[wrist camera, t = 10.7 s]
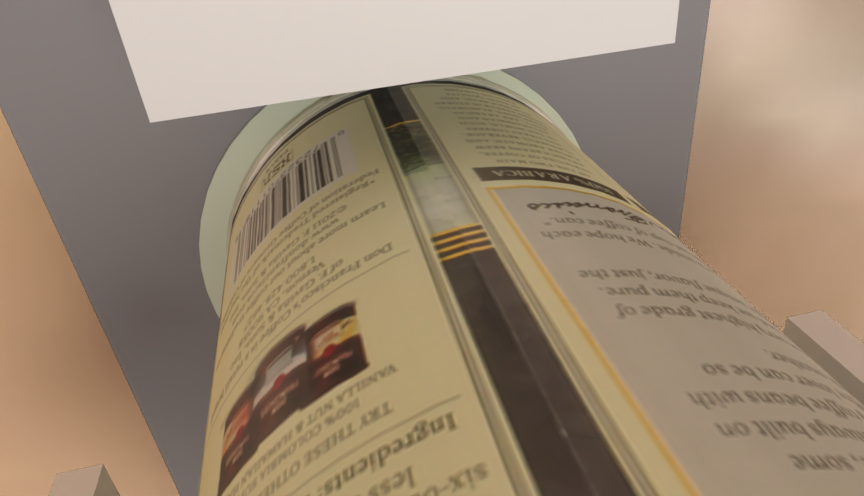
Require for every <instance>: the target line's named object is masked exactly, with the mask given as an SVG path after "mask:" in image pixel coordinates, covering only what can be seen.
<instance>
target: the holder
mask: <svg viewBox="0 0 864 496" xmlns="http://www.w3.org/2000/svg"><path fill="white" fill-rule="evenodd" d="M710 1H711V0H0V108H1V110H2V112H3V115H4V117H5V119H6V121H7V123H8V125H9V127H10V130H11V132H12V134H13V136H14V138H15V140H16V143H17V145H18V147H19V149H20V151H21V153H22V155H23V158H24V160H25V162H26V164H27V166H28V168H29V171H30V173H31V175H32V177H33V179H34V181H35V183H36V186H37V188H38V190H39V192H40V194H41V196H42V199H43V201H44V203H45V205H46V207H47V209H48V211H49V214H50V216H51V218H52V220H53V222H54V224H55V227H56V229H57V231H58V233H59V235H60V237H61V239H62V242H63V244H64V246H65V248H66V250H67V252H68V255H69V257H70V259H71V261H72V263H73V265H74V267H75V270H76V272H77V274H78V276H79V278H80V280H81V283H82V285H83V287H84V289H85V291H86V293H87V295H88V298H89V300H90V302H91V304H92V306H93V308H94V311H95V313H96V315H97V317H98V319H99V321H100V323H101V326H102V328H103V330H104V332H105V334H106V336H107V339H108V341H109V343H110V345H111V347H112V349H113V351H114V354H115V356H116V358H117V360H118V362H119V364H120V367H121V369H122V371H123V373H124V375H125V377H126V379H127V382H128V384H129V386H130V388H131V390H132V392H133V395H134V397H135V399H136V401H137V403H138V405H139V407H140V410H141V412H142V414H143V416H144V418H145V420H146V423H147V425H148V427H149V429H150V431H151V433H152V435H153V438H154V440H155V442H156V444H157V446H158V448H159V451H160V453H161V455H162V457H163V459H164V461H165V464H166V466H167V468H168V470H169V472H170V474H171V476H172V479H173V481H174V483H175V485H176V487H177V489H178V492H179V494H180V496H197V495H198V488H199V480H200V473H201V466H202V457H203V450H204V442H205V434H206V426H207V418H208V410H209V403H210V395H211V387H212V380H213V372H214V361H215V352H216V346H217V339H218V328H219V321H220V314H221V305H222V296H223V289H224V281H225V271H226V265H227V254H226V246H227V233H228V225H229V218H230V215H231V212H232V210H233V206H234V203H235V200H236V198H237V195H238V193H239V190H240V187H241V185H242V183H243V181H244V180H245V178H246V176H247V174H248V172H249V170H250V168H251V167H252V165H253V164H254V163H255V161H256V160H257V158H258V157H259V156H260V154H261V153H262V151H263V150H264V148H265V147H266V146H267V145H268V144H269V143H270V142H271V140H272V139H273V138H274V137H275V136H276V135H277V134H278V133H279V132H280V131H281V130H282V129H283V128H284V127H286V126H287V125H288V124H289V123H290V122H291V121H292V120H293V119H295V118H296V117H297V116H299V115H300V114H301V113H302V112H304V111H305V110H307V109H308V108H309V107H311V106H312V105H314V104H315V103H317V102H318V101H319V100H320V99H322V98H323V97H325V96H329V95H336V94H342V93H349V92H355V91H362V90H369V89H375V88H382V87H388V86H395V85H401V84H408V83H415V82H421V81H428V80H434V79H441V78H447V77H454V76H461V75H471V76H477V77H482V78H484V79H486V80H489V81H491V82H493V83H495V84H498V85H500V86H503V87H505V88H507V89H509V90H511V91H513V92H515V93H517V94H519V95H521V96H522V97H524V98H526V99H527V100H529V101H530V102H532V103H533V104H535V105H536V106H537V107H539V108H540V109H541V110H543V111H544V112H545V113H546V114H547V115H548V116H549V117H550V118H551V119H552V120H553V121H554V122H555V123H556V124H557V125H558V126H559V127H560V128H561V130H562V131H563V132H564V134H565V135H566V136H567V138H568V139H569V140H570V141H571V142H572V143H574V144H575V145H576V146H577V147H578V148H579V149H580V150H581V151H582V152H584V153H585V154H586V155H587V156H588V157H589V158H590V159H591V160H593V161H594V162H595V163H596V164H597V165H598V166H599V167H600V168H601V169H602V170H603V171H605V172H606V173H607V174H608V175H609V176H610V177H611V178H612V179H613V180H615V181H616V182H617V183H618V184H619V185H620V186H621V187H622V188H623V189H624V190H626V191H627V192H628V193H629V194H630V195H631V196H632V197H633V198H634V199H635V200H637V201H638V202H639V203H640V204H641V205H642V206H643V207H644V208H645V209H646V210H647V211H649V212H650V213H651V214H652V215H653V216H654V217H655V218H656V219H657V220H658V221H659V222H661V223H662V224H663V225H664V226H666V227H667V228H668V229H670V230H671V231H672V232H673V233H674V234H675V235H676V236H677V238H678V239H679V231H680V224H681V217H682V209H683V202H684V194H685V187H686V179H687V172H688V164H689V157H690V150H691V142H692V135H693V127H694V120H695V112H696V105H697V97H698V90H699V83H700V75H701V68H702V60H703V53H704V45H705V38H706V30H707V23H708V16H709V8H710Z"/></svg>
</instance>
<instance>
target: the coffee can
mask: <svg viewBox="0 0 864 496" xmlns="http://www.w3.org/2000/svg"><path fill="white" fill-rule="evenodd" d="M226 254H227V265H226V271H225V281H224V289H223V296H222V305H221V314H220V321H219V328H218V339H217V346H216V352H215V361H214V372H213V380H212V387H211V395H210V403H209V410H208V418H207V426H206V434H205V442H204V450H203V457H202V466H201V473H200V480H199V488H198V495H197V496H864V406H863V405H862V404H861V403H860V402H859V401H858V400H857V399H855V398H854V397H853V396H852V395H851V394H850V393H849V392H848V391H847V390H845V389H844V388H843V387H842V386H841V385H840V384H839V383H838V382H837V381H836V380H834V379H833V378H832V377H831V376H830V375H829V374H828V373H827V372H826V371H824V370H823V369H822V368H821V367H820V366H819V365H818V364H817V363H816V362H815V361H813V360H812V359H811V358H810V357H809V356H808V355H807V354H806V353H805V352H804V351H802V350H801V349H800V348H799V347H798V346H797V345H796V344H795V343H794V342H792V341H791V340H790V339H789V338H788V337H787V336H786V335H785V334H784V333H783V332H781V331H780V330H779V329H778V328H777V327H776V326H775V325H774V324H772V323H771V322H770V321H769V320H768V319H767V318H766V317H765V316H764V315H762V314H761V313H760V312H759V311H758V310H757V309H756V308H755V307H753V306H752V305H751V304H750V303H749V302H748V301H747V300H746V299H745V298H743V297H742V296H741V295H740V294H739V293H738V292H737V291H736V290H734V289H733V288H732V287H731V286H730V285H729V284H728V283H727V282H726V281H724V280H723V279H722V278H721V277H720V276H719V275H718V274H717V273H715V272H714V271H713V270H712V269H711V268H710V267H709V266H708V265H707V264H706V263H705V262H704V261H703V260H702V259H700V258H699V257H698V256H697V255H696V254H695V253H694V252H693V251H692V250H691V249H690V248H688V247H687V246H686V245H685V244H684V243H682V242H681V241H680V240H679V239H678V238H677V236H676V235H675V234H674V233H673V232H672V231H671V230H670V229H668V228H667V227H666V226H664V225H663V224H662V223H661V222H659V221H658V220H657V219H656V218H655V217H654V216H653V215H652V214H651V213H650V212H649V211H647V210H646V209H645V208H644V207H643V206H642V205H641V204H640V203H639V202H638V201H637V200H635V199H634V198H633V197H632V196H631V195H630V194H629V193H628V192H627V191H626V190H624V189H623V188H622V187H621V186H620V185H619V184H618V183H617V182H616V181H615V180H613V179H612V178H611V177H610V176H609V175H608V174H607V173H606V172H605V171H603V170H602V169H601V168H600V167H599V166H598V165H597V164H596V163H595V162H594V161H593V160H591V159H590V158H589V157H588V156H587V155H586V154H585V153H584V152H582V151H581V150H580V149H579V148H578V147H577V146H576V145H575V144H574V143H572V142H571V141H570V140H569V139H568V138H567V136H566V135H565V134H564V132H563V131H562V130H561V128H560V127H559V126H558V125H557V124H556V123H555V122H554V121H553V120H552V119H551V118H550V117H549V116H548V115H547V114H546V113H545V112H544V111H543V110H541V109H540V108H539V107H537V106H536V105H535V104H533V103H532V102H530V101H529V100H527V99H526V98H524V97H522V96H521V95H519V94H517V93H515V92H513V91H511V90H509V89H507V88H505V87H503V86H500V85H498V84H495V83H493V82H491V81H489V80H486V79H484V78H482V77H477V76H471V75H461V76H454V77H447V78H441V79H434V80H428V81H421V82H415V83H408V84H401V85H395V86H388V87H382V88H375V89H369V90H362V91H355V92H349V93H342V94H336V95H329V96H325V97H323V98H322V99H320V100H319V101H318V102H317V103H315V104H314V105H312V106H311V107H309V108H308V109H307V110H305V111H304V112H302V113H301V114H300V115H299V116H297V117H296V118H295V119H293V120H292V121H291V122H290V123H289V124H288V125H287V126H286V127H284V128H283V129H282V130H281V131H280V132H279V133H278V134H277V135H276V136H275V137H274V138H273V139H272V140H271V142H270V143H269V144H268V145H267V146H266V147H265V148H264V150H263V151H262V153H261V154H260V156H259V157H258V158H257V160H256V161H255V163H254V164H253V165H252V167H251V168H250V170H249V172H248V174H247V176H246V178H245V180H244V181H243V183H242V185H241V187H240V190H239V193H238V195H237V198H236V200H235V203H234V206H233V210H232V212H231V215H230V218H229V225H228V233H227V246H226Z"/></svg>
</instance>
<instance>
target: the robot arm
mask: <svg viewBox="0 0 864 496" xmlns="http://www.w3.org/2000/svg"><path fill="white" fill-rule="evenodd" d="M783 333H784V334H785V335H786V336H787V337H788V338H789V339H790V340H791V341H792V342H794V343H795V344H796V345H797V346H798V347H799V348H800V349H801V350H802V351H804V352H805V353H806V354H807V355H808V356H809V357H810V358H811V359H812V360H813V361H815V362H816V363H817V364H818V365H819V366H820V367H821V368H822V369H823V370H824V371H826V372H827V373H828V374H829V375H830V376H831V377H832V378H833V379H834V380H836V381H837V382H838V383H839V384H840V385H841V386H842V387H843V388H844V389H845V390H847V391H848V392H849V393H850V394H851V395H852V396H853V397H854V398H855V399H857V400H858V401H859V402H860V403H861V404H862V405H863V406H864V343H863V342H861V341H860V340H859V339H857V338H856V337H855V336H854V335H852V334H851V333H850V332H849V331H847V330H846V329H845V328H844V327H842V326H841V325H840V324H839V323H837V322H836V321H835V320H834V319H832V318H831V317H830V316H829V315H827V314H826V313H825V312H824V311H822V310H819V311H815V312H810V313H805V314H801V315H796V316H791V317H787V320H786V324H785V328H784V332H783ZM49 496H120V495H119V493H118V491H117V489H116V487H115V485H114V483H113V482H112V480H111V478H110V476H109V474H108V472H107V470H106V468H105V466H104V465H103V464H101V465H96V466H91V467H87V468H82V469H77V470H73V471H68V472H63V473H59V474H57V475H56V478H55V480H54V483H53V485H52V488H51V491H50V493H49Z"/></svg>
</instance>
